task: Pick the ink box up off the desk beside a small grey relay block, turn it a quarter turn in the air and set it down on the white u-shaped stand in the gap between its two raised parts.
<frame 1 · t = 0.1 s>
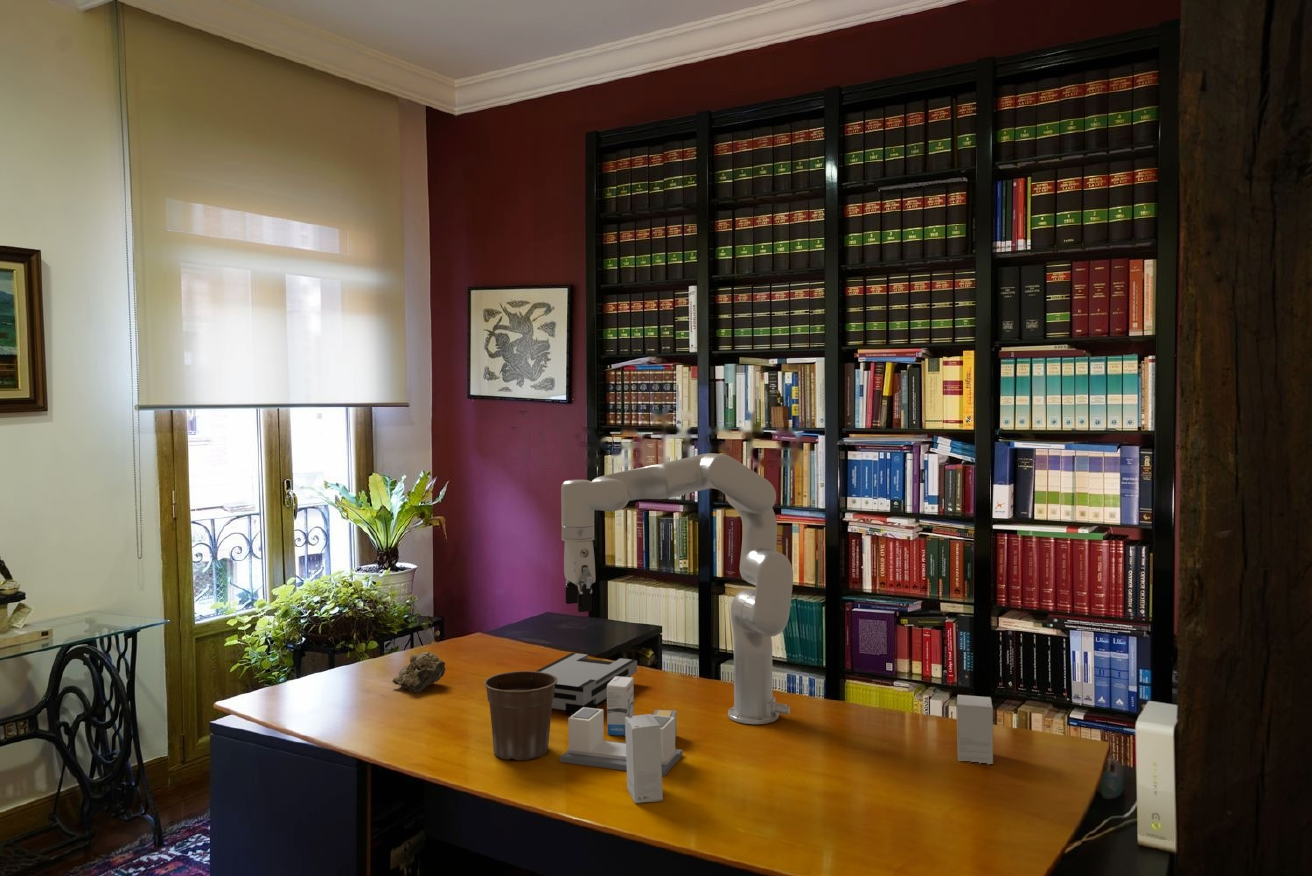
hand: (578, 607, 207), 31 cm above the table, tool pointing down, fingers open, 9 cm apart
white u-shaped stand: (621, 758, 196), on the table
supplement box: (974, 758, 195), on the table
relay block: (664, 740, 208), on the table
game console: (577, 697, 241), on the table
ink box: (620, 730, 215), on the table
plant pot: (521, 752, 201), on the table
mineral specimen: (416, 688, 250), on the table
skincare box: (643, 795, 177), on the table
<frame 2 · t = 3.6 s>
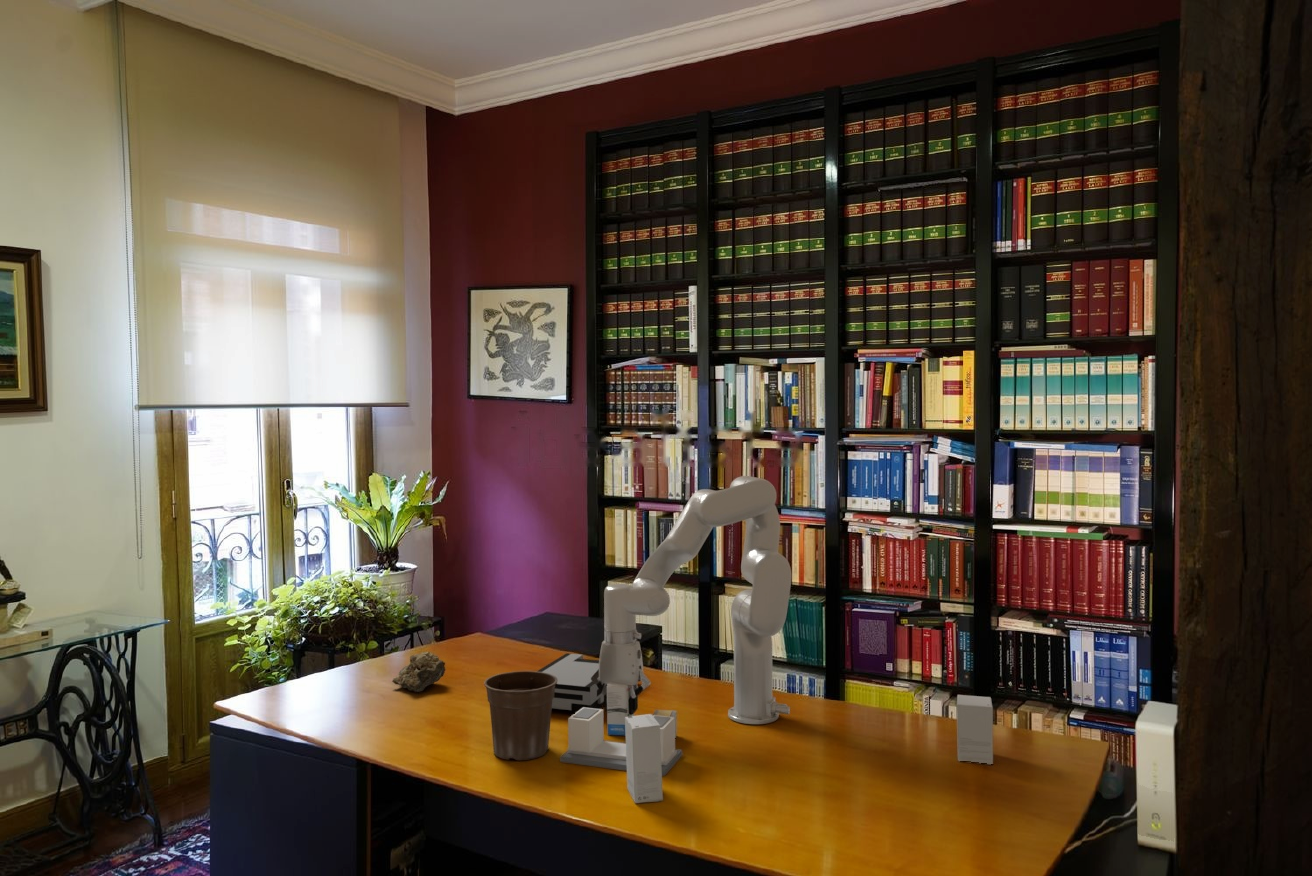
hand: (620, 711, 214), 5 cm above the table, tool pointing down, fingers closed on ink box, 5 cm apart
ink box: (620, 730, 215), on the table, touching gripper
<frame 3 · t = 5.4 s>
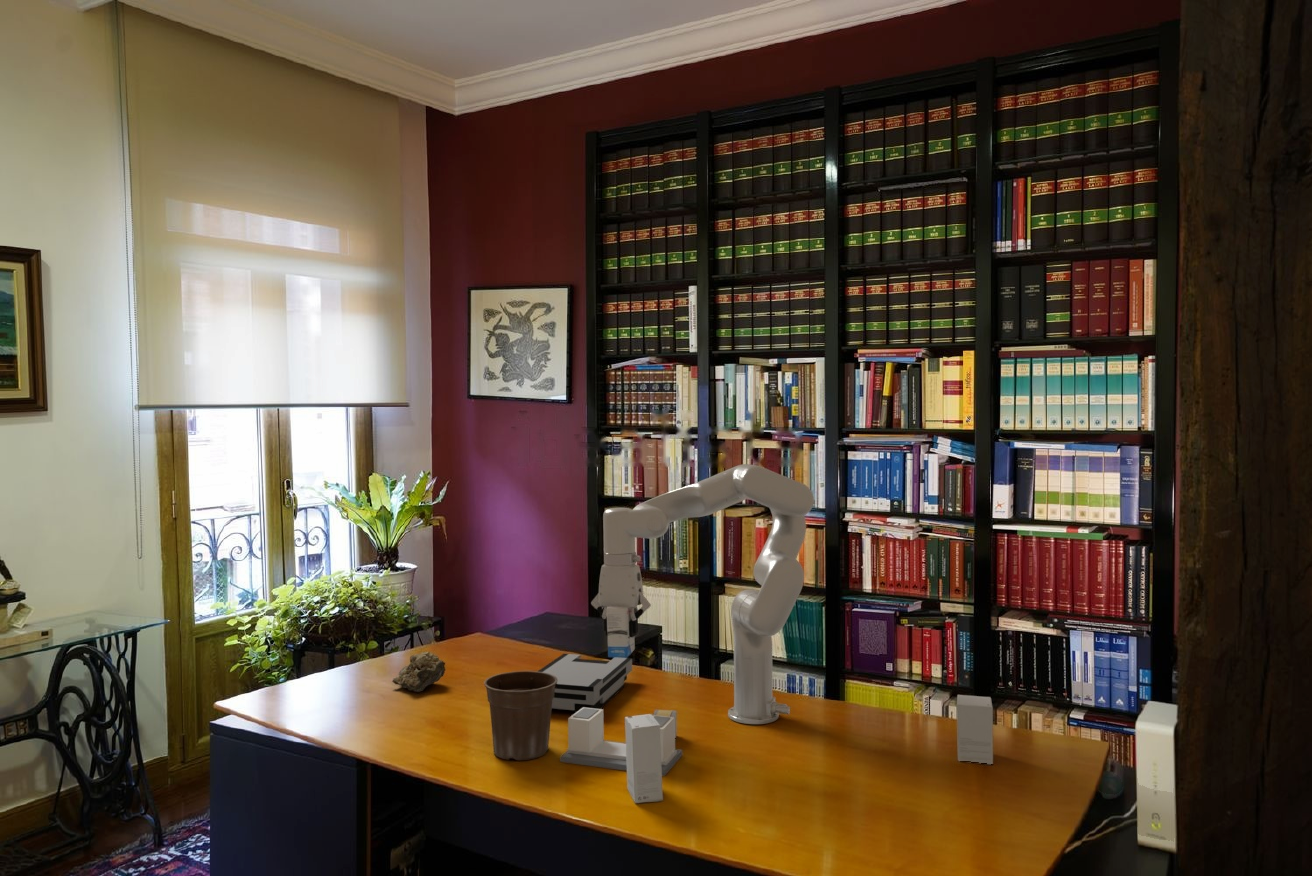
hand: (621, 634, 214), 23 cm above the table, tool pointing down, fingers closed on ink box, 5 cm apart
ink box: (621, 654, 214), point 18 cm above the table, touching gripper
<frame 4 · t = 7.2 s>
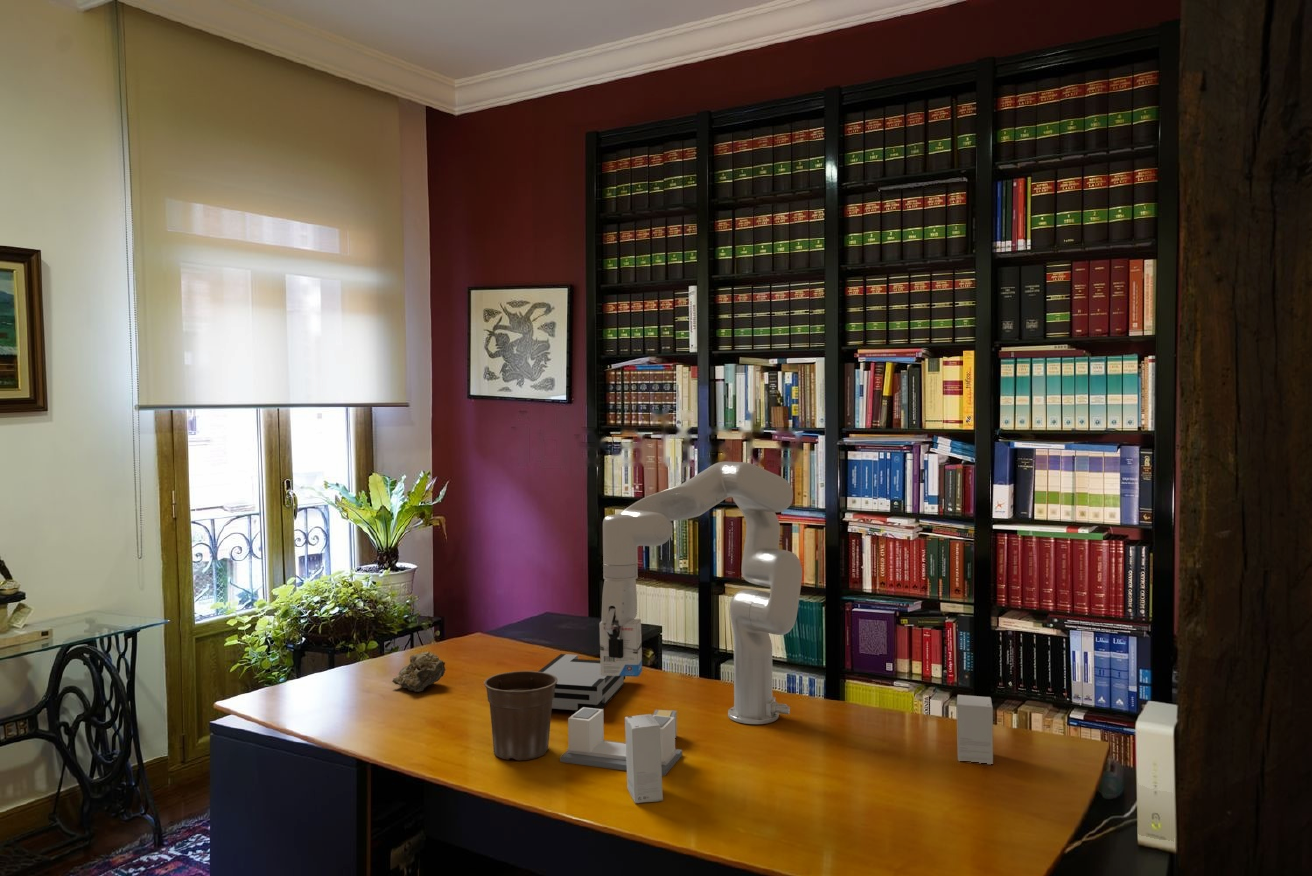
hand: (621, 653, 196), 23 cm above the table, tool pointing down, fingers closed on ink box, 5 cm apart
ink box: (621, 674, 196), point 19 cm above the table, touching gripper
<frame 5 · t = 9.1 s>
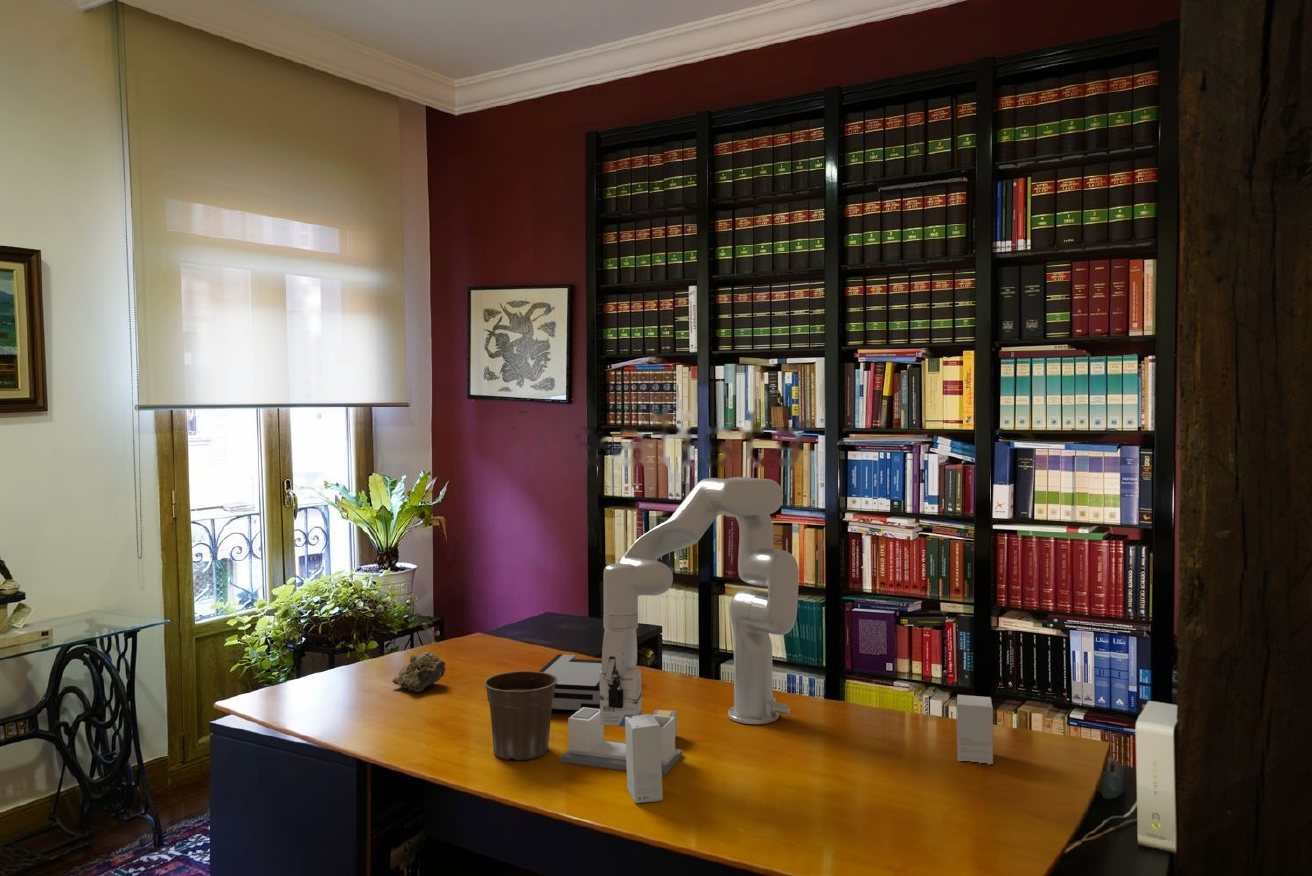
hand: (621, 702, 196), 12 cm above the table, tool pointing down, fingers closed on ink box, 5 cm apart
ink box: (621, 723, 196), point 8 cm above the table, touching gripper
when the fingers open (8 cm above the table, at t = 10.8 s): ink box drops 2 cm, resting on white u-shaped stand.
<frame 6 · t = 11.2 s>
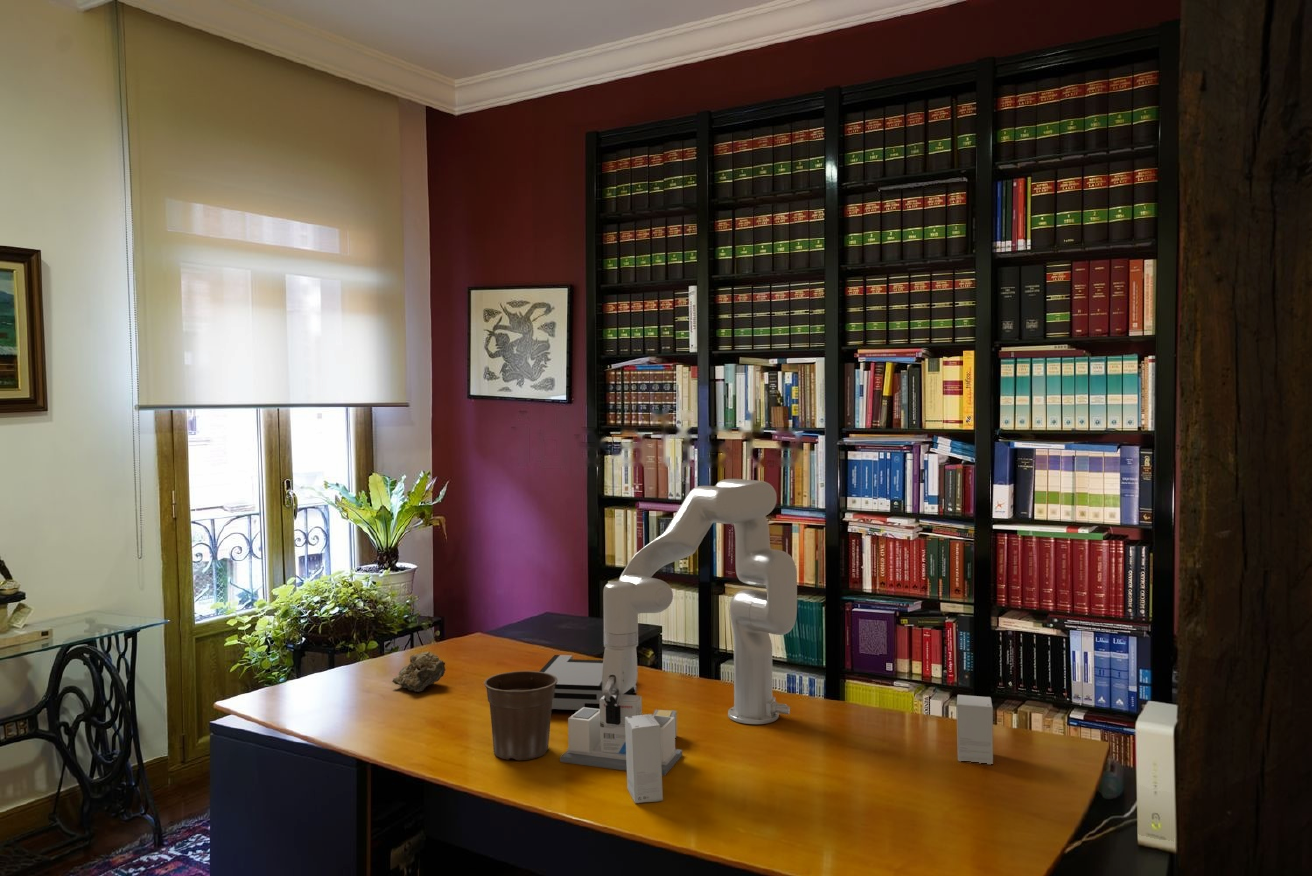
hand: (621, 716, 196), 9 cm above the table, tool pointing down, fingers open, 9 cm apart
ink box: (621, 750, 196), point 2 cm above the table, touching white u-shaped stand
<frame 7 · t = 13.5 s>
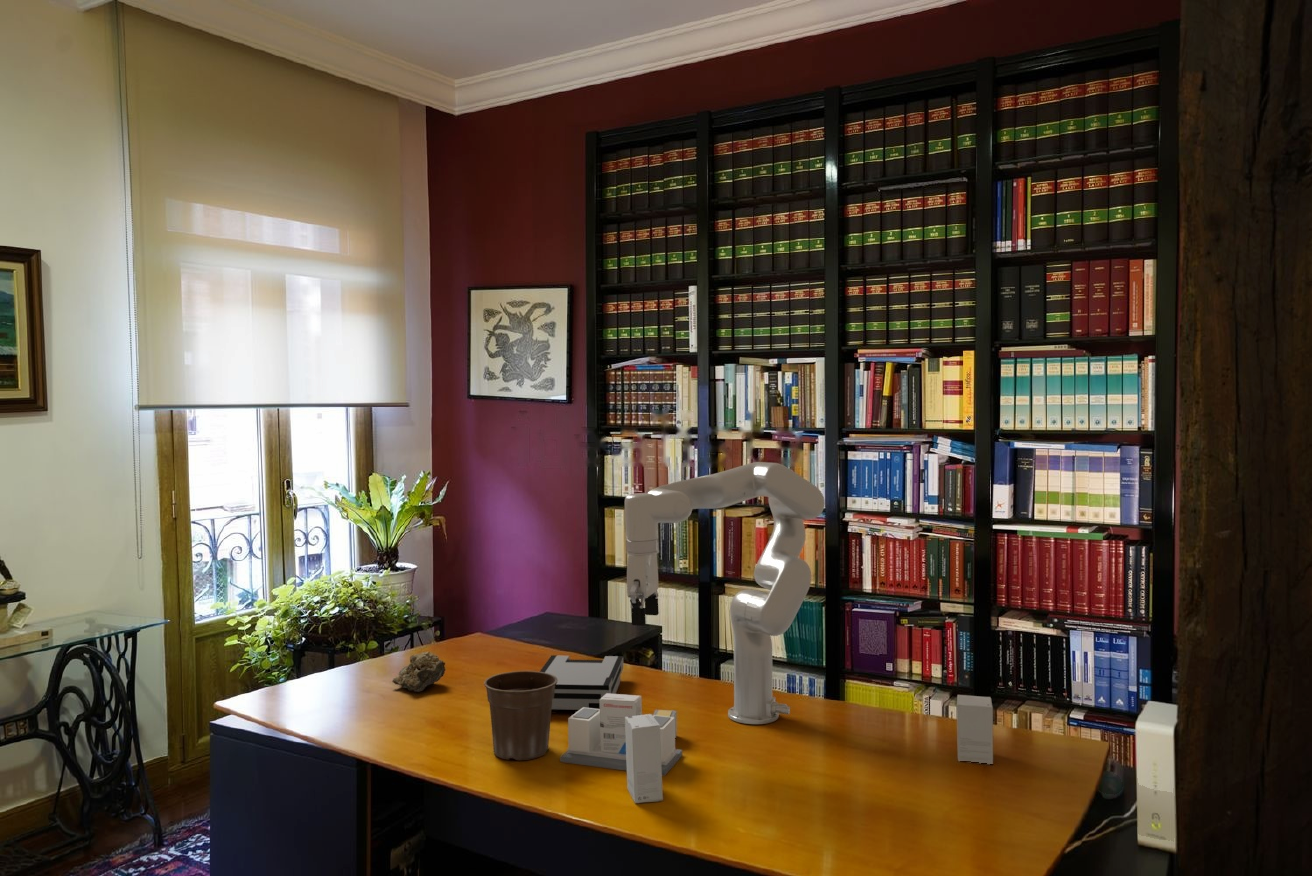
hand: (645, 620, 208), 28 cm above the table, tool pointing down, fingers open, 9 cm apart
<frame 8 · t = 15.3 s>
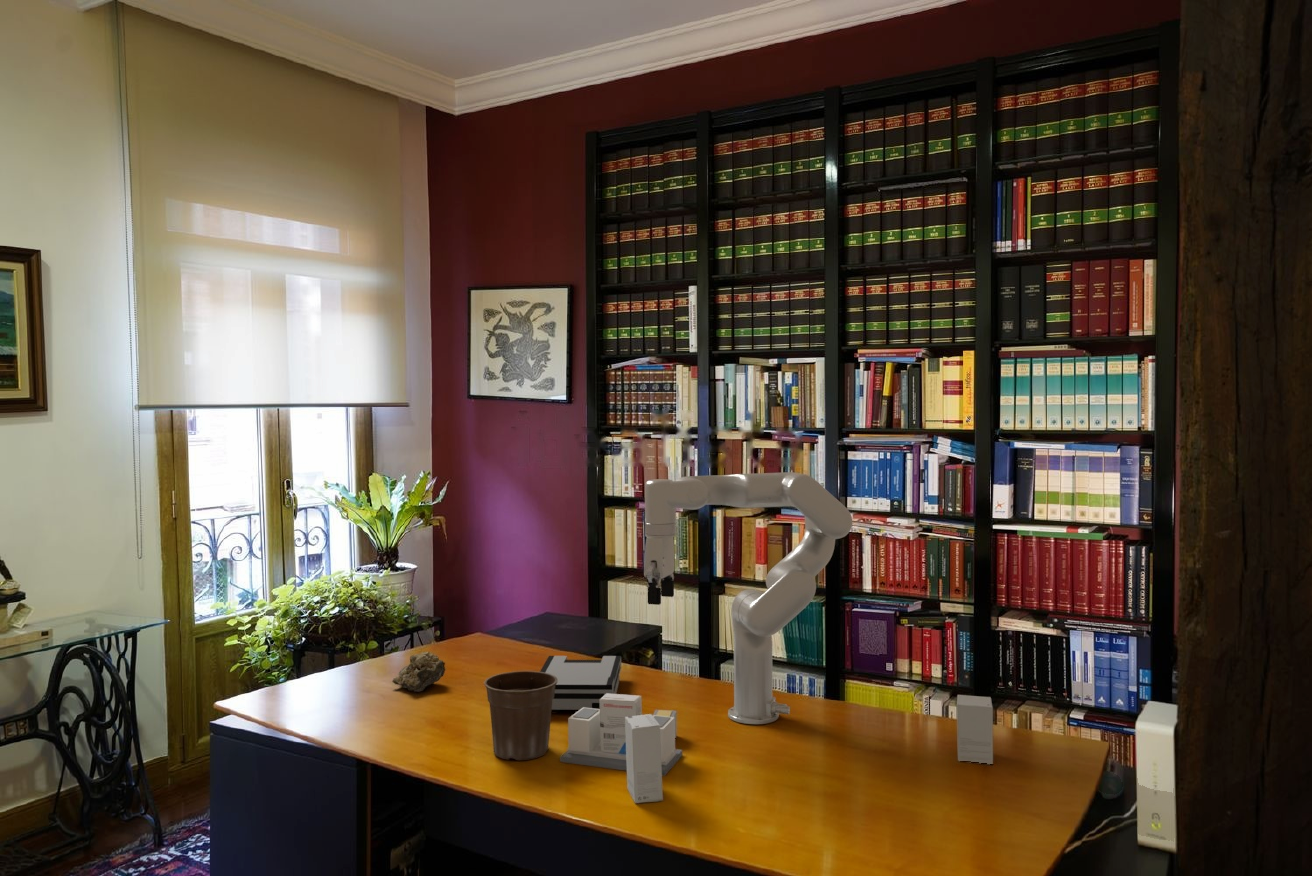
hand: (661, 600, 218), 30 cm above the table, tool pointing down, fingers open, 9 cm apart
at the end: ink box inside the target area on the white u-shaped stand (0.2 cm from its centre), point 1.8 cm above the white u-shaped stand's base; ink box tilted 0°; the gripper is holding nothing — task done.
